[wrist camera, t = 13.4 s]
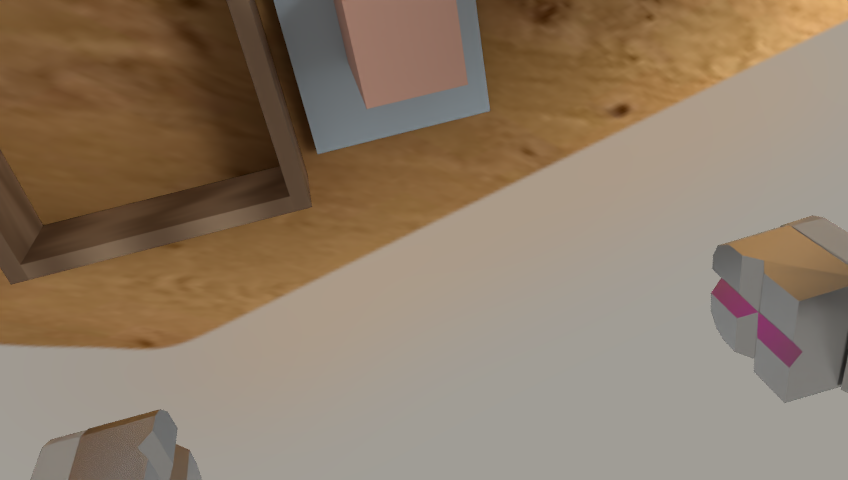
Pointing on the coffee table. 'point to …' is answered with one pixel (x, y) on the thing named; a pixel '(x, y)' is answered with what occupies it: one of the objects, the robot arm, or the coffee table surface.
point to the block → (402, 47)
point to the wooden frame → (169, 214)
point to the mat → (338, 92)
